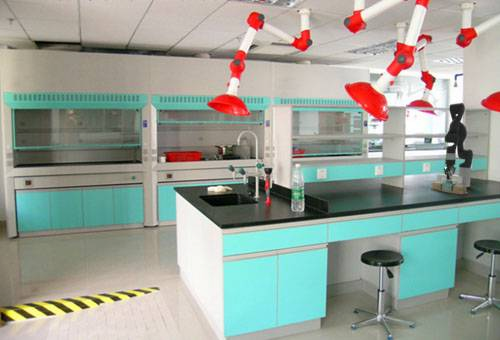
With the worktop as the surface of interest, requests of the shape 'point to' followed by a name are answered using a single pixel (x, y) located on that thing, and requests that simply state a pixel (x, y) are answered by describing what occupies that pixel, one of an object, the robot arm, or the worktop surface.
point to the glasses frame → (450, 177)
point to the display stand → (449, 187)
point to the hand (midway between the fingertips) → (449, 179)
